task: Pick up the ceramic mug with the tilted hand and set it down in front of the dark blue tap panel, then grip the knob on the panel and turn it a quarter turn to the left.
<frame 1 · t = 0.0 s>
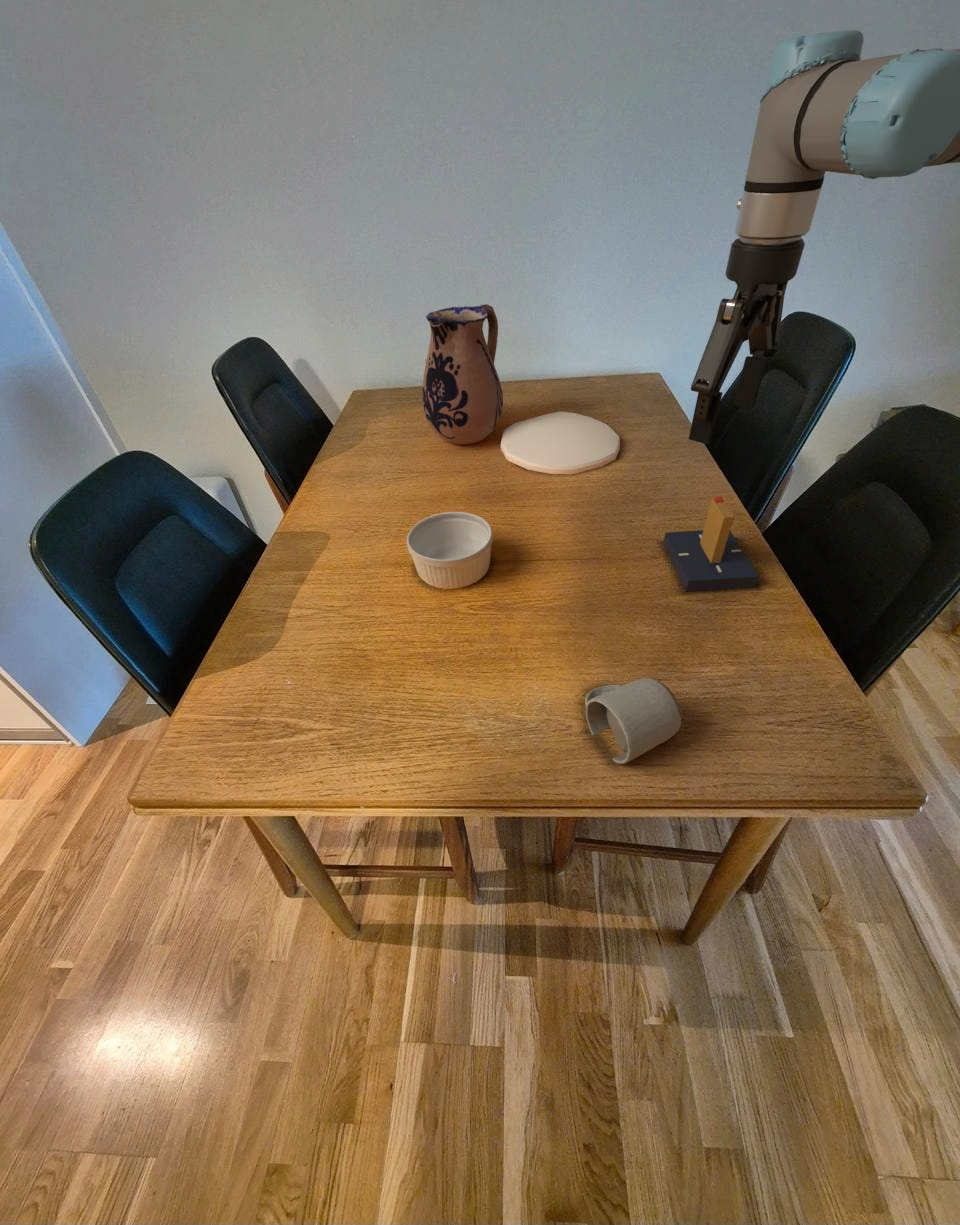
hand: (722, 422, 74), 20 cm above the table, tool pointing down, fingers open, 13 cm apart
tap panel: (705, 568, 82), on the table
decorative plate: (558, 449, 114), on the table
ceramic pitcher: (470, 433, 123), on the table
knob: (716, 530, 77), point 7 cm above the table, hinge at 0.0°
ceramic mug: (620, 730, 62), on the table
ramekin: (454, 570, 86), on the table
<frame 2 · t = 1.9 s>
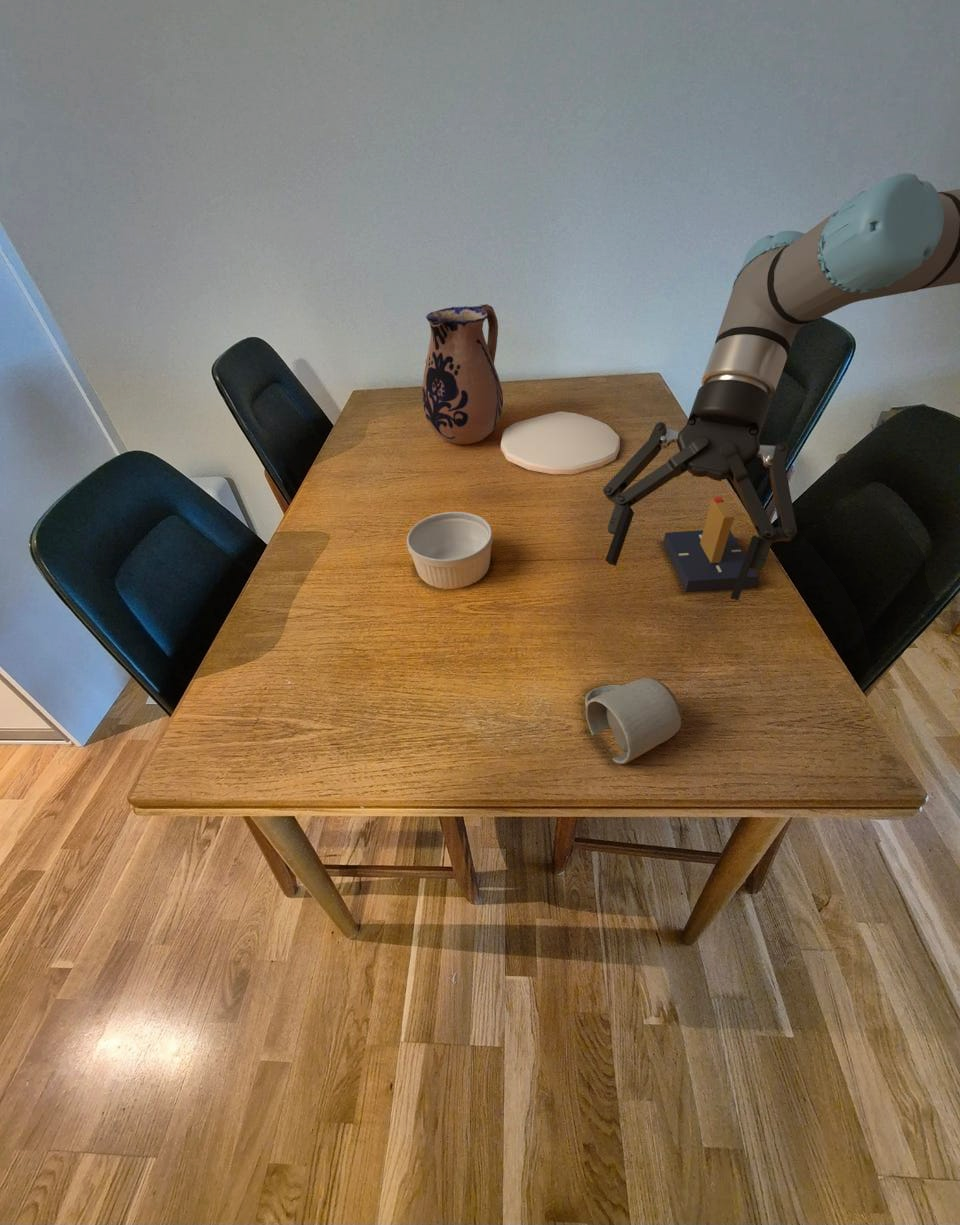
hand: (669, 580, 59), 15 cm above the table, tool tilted 45°, fingers open, 13 cm apart
nothing on the table moved.
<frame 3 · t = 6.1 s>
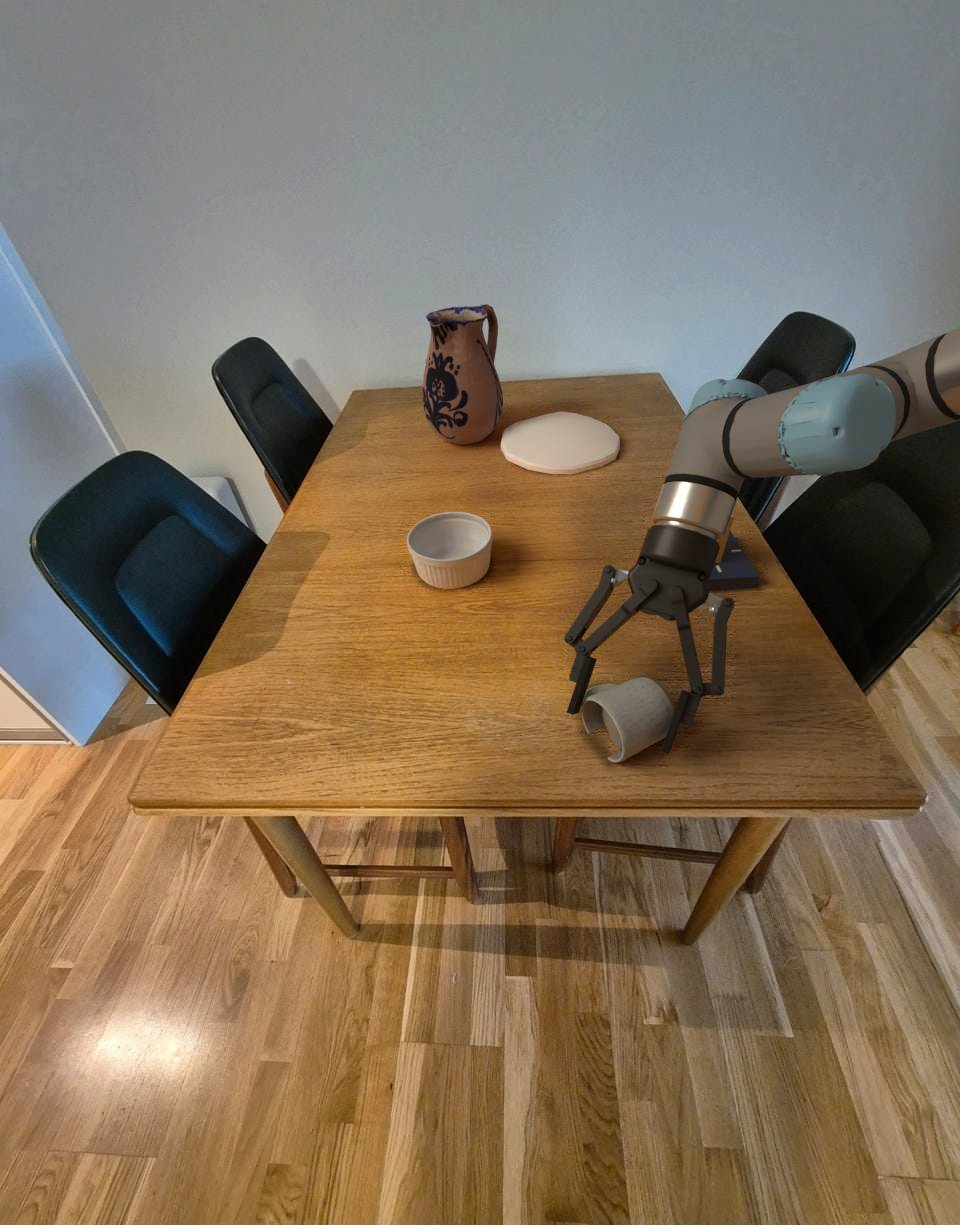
hand: (617, 730, 58), 4 cm above the table, tool tilted 45°, fingers closed on ceramic mug, 10 cm apart
ceramic mug: (615, 729, 63), on the table, touching gripper
everything else where it was.
when the fingers open (4 cm above the table, at t = 15.0 s): ceramic mug stays where it is, on the table.
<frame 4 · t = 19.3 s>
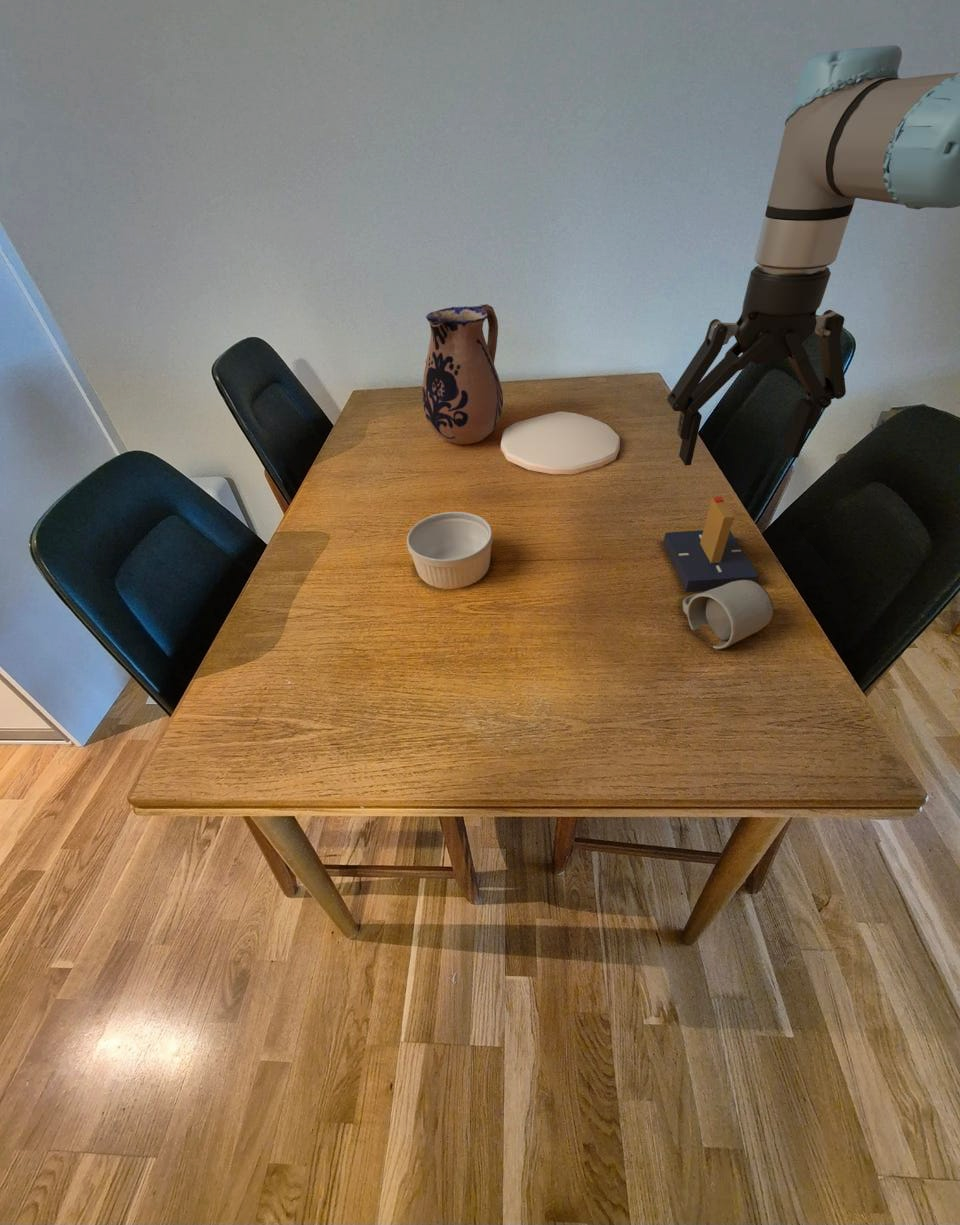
hand: (737, 456, 69), 19 cm above the table, tool pointing down, fingers open, 13 cm apart
ceramic mug: (714, 627, 73), on the table
everything else where it was.
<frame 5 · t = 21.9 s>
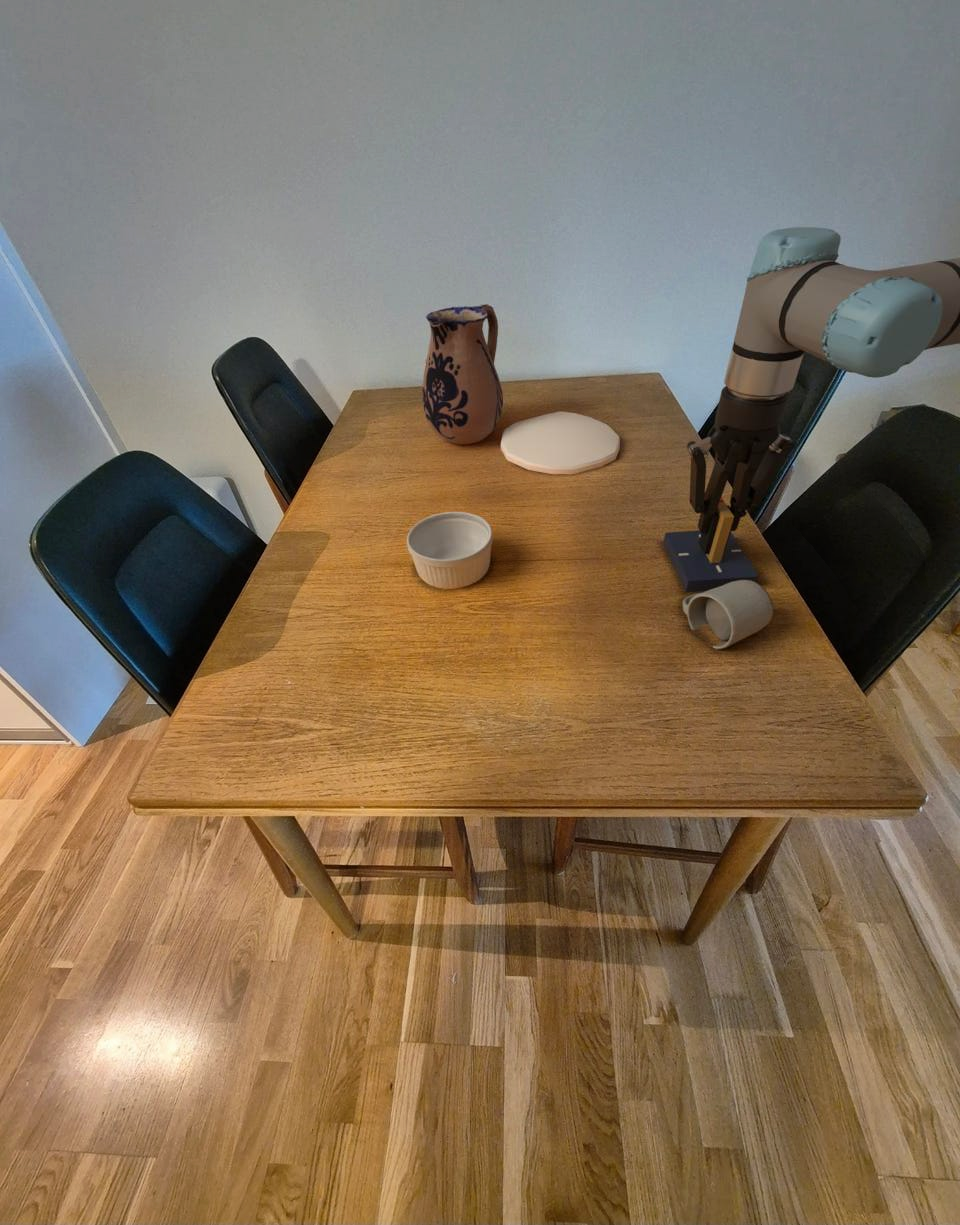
hand: (711, 548, 79), 4 cm above the table, tool pointing down, fingers closed on knob, 1 cm apart
knob: (716, 530, 77), point 7 cm above the table, hinge at 0.0°, touching gripper
everything else where it was.
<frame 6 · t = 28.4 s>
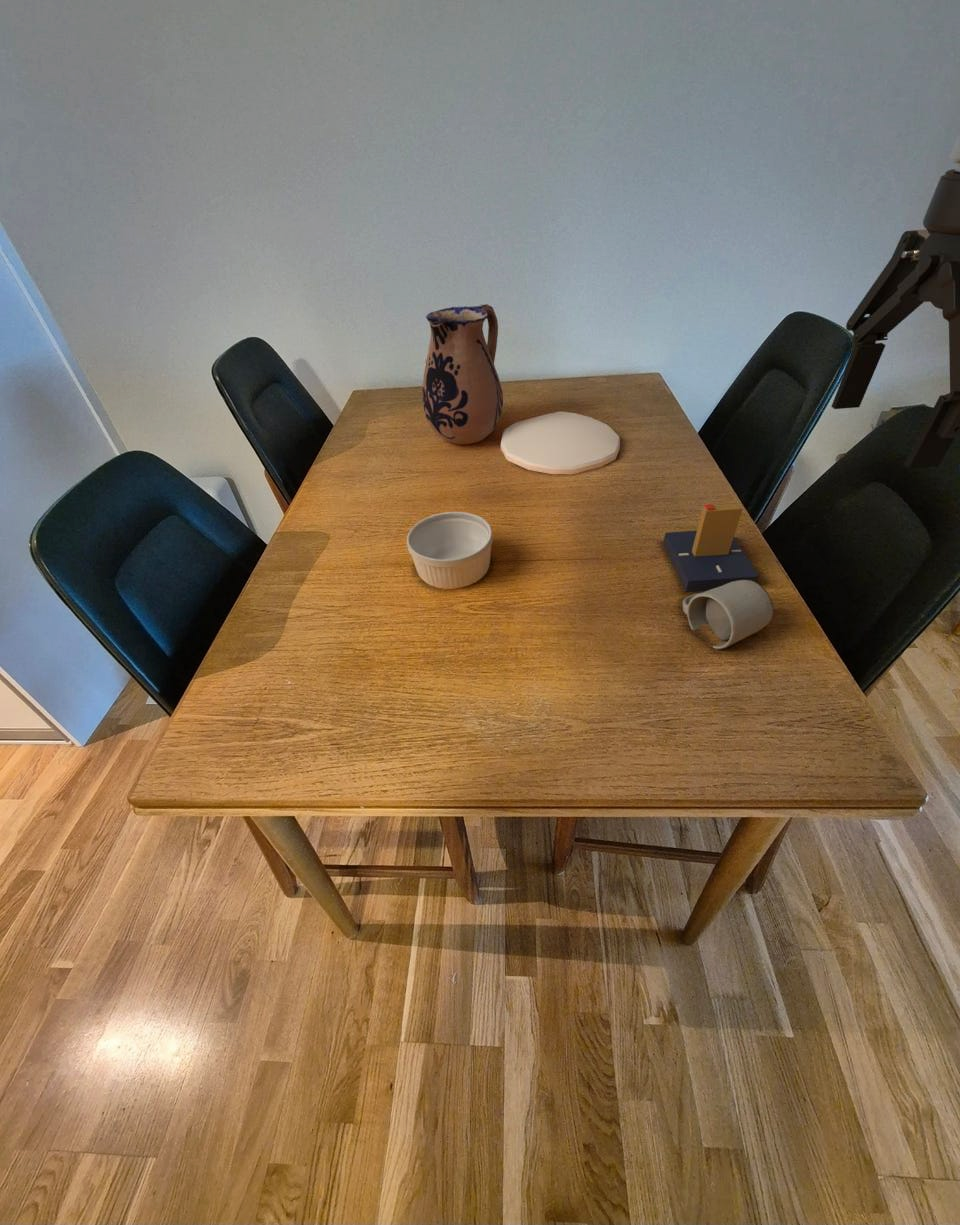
hand: (879, 434, 55), 27 cm above the table, tool pointing down, fingers open, 13 cm apart
knob: (716, 530, 77), point 7 cm above the table, hinge at 89.8°
everything else where it was.
at the end: knob at +90° (first picture: +0°); ceramic mug inside the target area on the table beside the tap panel (0.9 cm from its centre), on the table; ceramic mug tilted 0° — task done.
